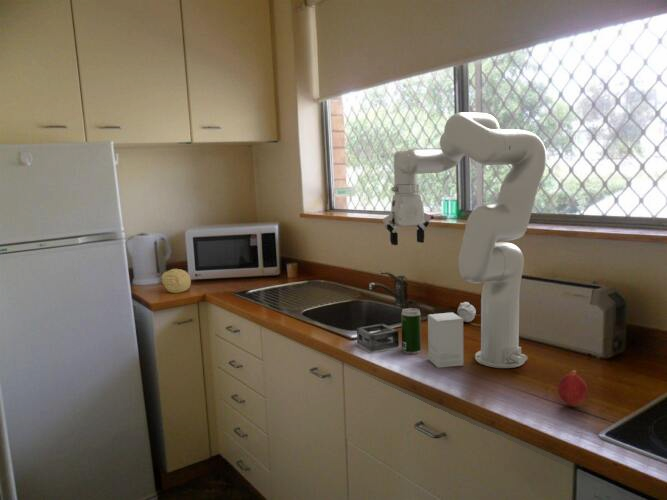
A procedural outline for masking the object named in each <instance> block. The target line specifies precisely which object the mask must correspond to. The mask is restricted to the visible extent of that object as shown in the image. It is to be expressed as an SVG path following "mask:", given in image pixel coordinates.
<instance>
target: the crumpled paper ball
mask: <svg viewBox="0 0 667 500" xmlns="http://www.w3.org/2000/svg"><path fill="white" fill-rule="evenodd" d="M456 313H457V315H458V316H459V317H461V318H463V323H464V322H465V323H470V322H472V321H473V320H474V319H475V317H476V313H477V310H476V308H475V307H474V305H472V304H470V302H469V301H464V302H460V304H459V306H458V307H457V312H456Z"/></svg>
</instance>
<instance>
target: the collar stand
mask: <svg viewBox="0 0 667 500" xmlns="http://www.w3.org/2000/svg"><path fill="white" fill-rule="evenodd" d="M376 331H379V332H377V333H371V332H376ZM399 334H400V333H399V330H398V329H395V328H393V327H391V326H389V325H387V324H385V323H379V324H374V325H367V326H360V327H357V328H356V342H355V345H357V346H358V347H360V348H362V349H364V350H365V351H367V352H369V353H370V354H373V353H375V354H376V353H381V352H385V351H391V350H396V349H400V348H401V346H400V345H399Z"/></svg>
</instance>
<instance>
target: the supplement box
mask: <svg viewBox="0 0 667 500" xmlns="http://www.w3.org/2000/svg"><path fill="white" fill-rule="evenodd" d="M427 340H428V341H427V342H428V343H427V345H428V346H427V347H428V348H427V349H428V352H427V353H428V361H430V362H431V363H432V364H434V366H436V367H437V369H438V368H449V367H461V366H464V321H463V318H461V317H459V314H456V313H455V312H453V311H452V312H444V313H443V312H442V313H433V314H432V313H430V314H427Z"/></svg>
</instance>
